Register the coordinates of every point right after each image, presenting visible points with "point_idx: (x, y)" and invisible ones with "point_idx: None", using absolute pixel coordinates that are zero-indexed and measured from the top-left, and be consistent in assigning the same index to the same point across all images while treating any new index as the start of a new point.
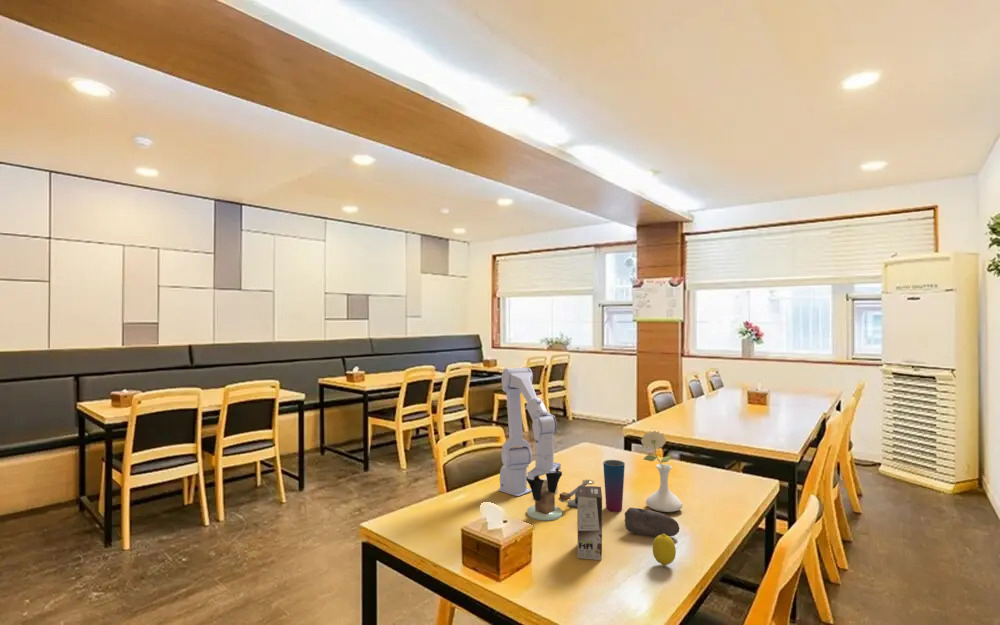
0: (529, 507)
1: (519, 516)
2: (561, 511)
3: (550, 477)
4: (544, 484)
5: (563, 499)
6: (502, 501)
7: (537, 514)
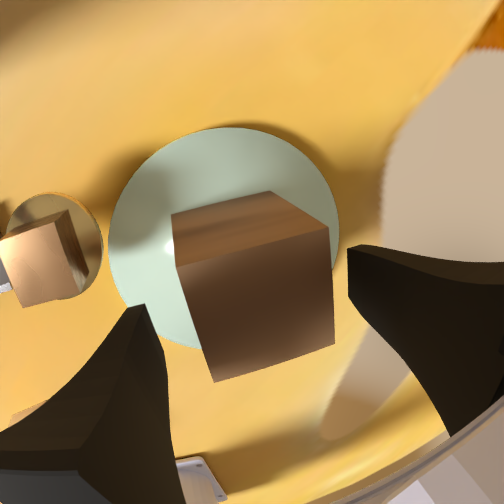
0: None
1: None
2: (140, 173)
3: (160, 471)
4: None
5: (74, 233)
6: (282, 437)
7: None
